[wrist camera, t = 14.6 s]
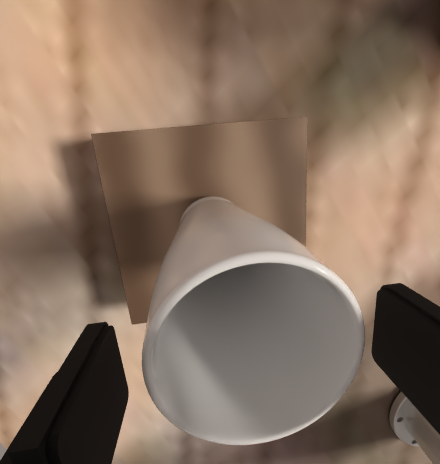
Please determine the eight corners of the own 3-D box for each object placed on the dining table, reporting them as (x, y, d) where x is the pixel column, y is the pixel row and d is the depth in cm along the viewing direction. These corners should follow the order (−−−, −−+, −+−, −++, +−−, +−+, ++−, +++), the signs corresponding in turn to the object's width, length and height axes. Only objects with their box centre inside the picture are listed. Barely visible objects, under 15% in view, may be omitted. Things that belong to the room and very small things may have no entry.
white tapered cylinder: (198, 279, 23) (219, 481, 9) (153, 215, 21) (83, 340, 7) (266, 238, 23) (400, 378, 8) (226, 169, 21) (313, 199, 6)
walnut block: (288, 122, 24) (307, 116, 20) (289, 280, 29) (305, 300, 25) (107, 137, 23) (91, 134, 19) (139, 300, 28) (131, 324, 24)
